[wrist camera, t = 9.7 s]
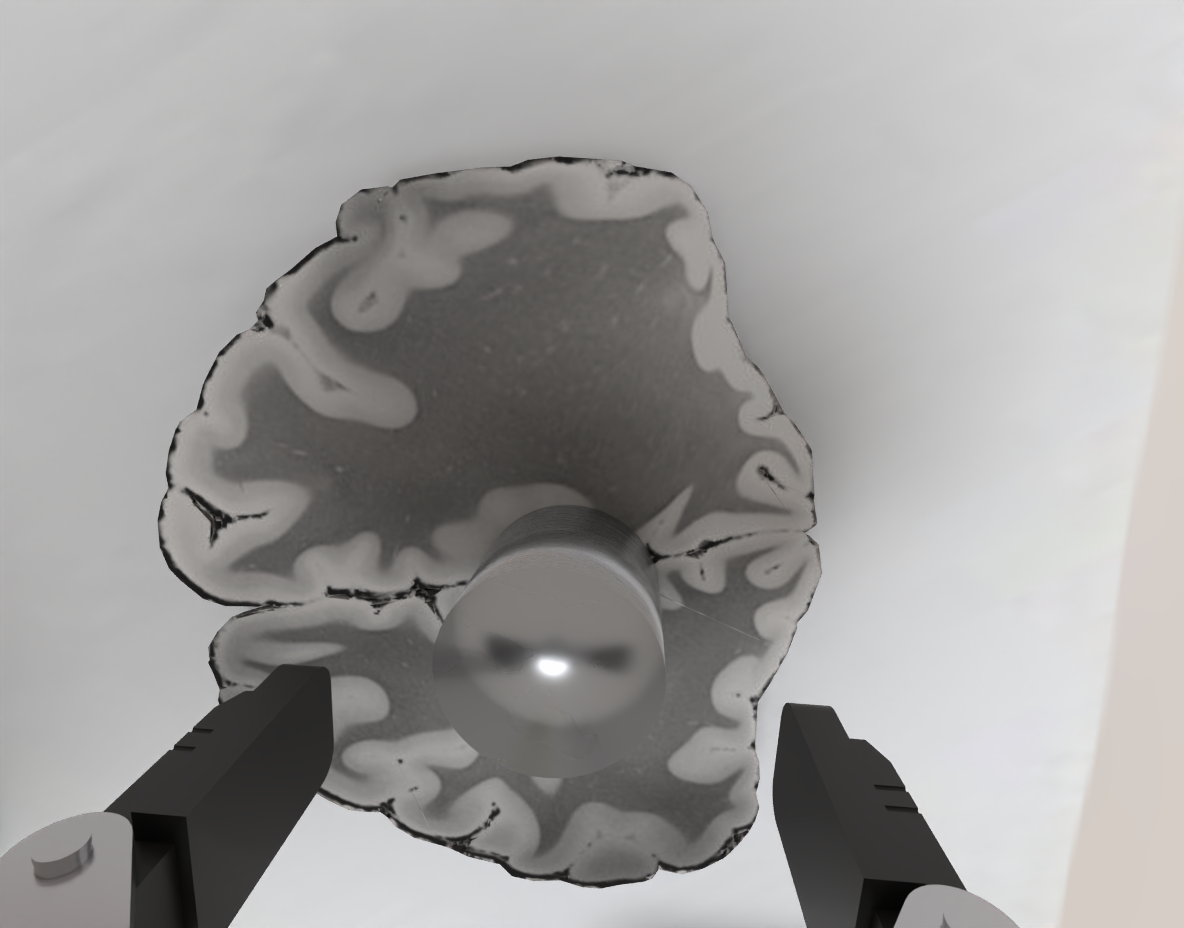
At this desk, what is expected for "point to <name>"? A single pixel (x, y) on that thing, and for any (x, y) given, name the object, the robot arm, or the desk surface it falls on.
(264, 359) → the brain slice
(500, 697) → the cylinder
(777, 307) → the desk surface
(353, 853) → the desk surface
